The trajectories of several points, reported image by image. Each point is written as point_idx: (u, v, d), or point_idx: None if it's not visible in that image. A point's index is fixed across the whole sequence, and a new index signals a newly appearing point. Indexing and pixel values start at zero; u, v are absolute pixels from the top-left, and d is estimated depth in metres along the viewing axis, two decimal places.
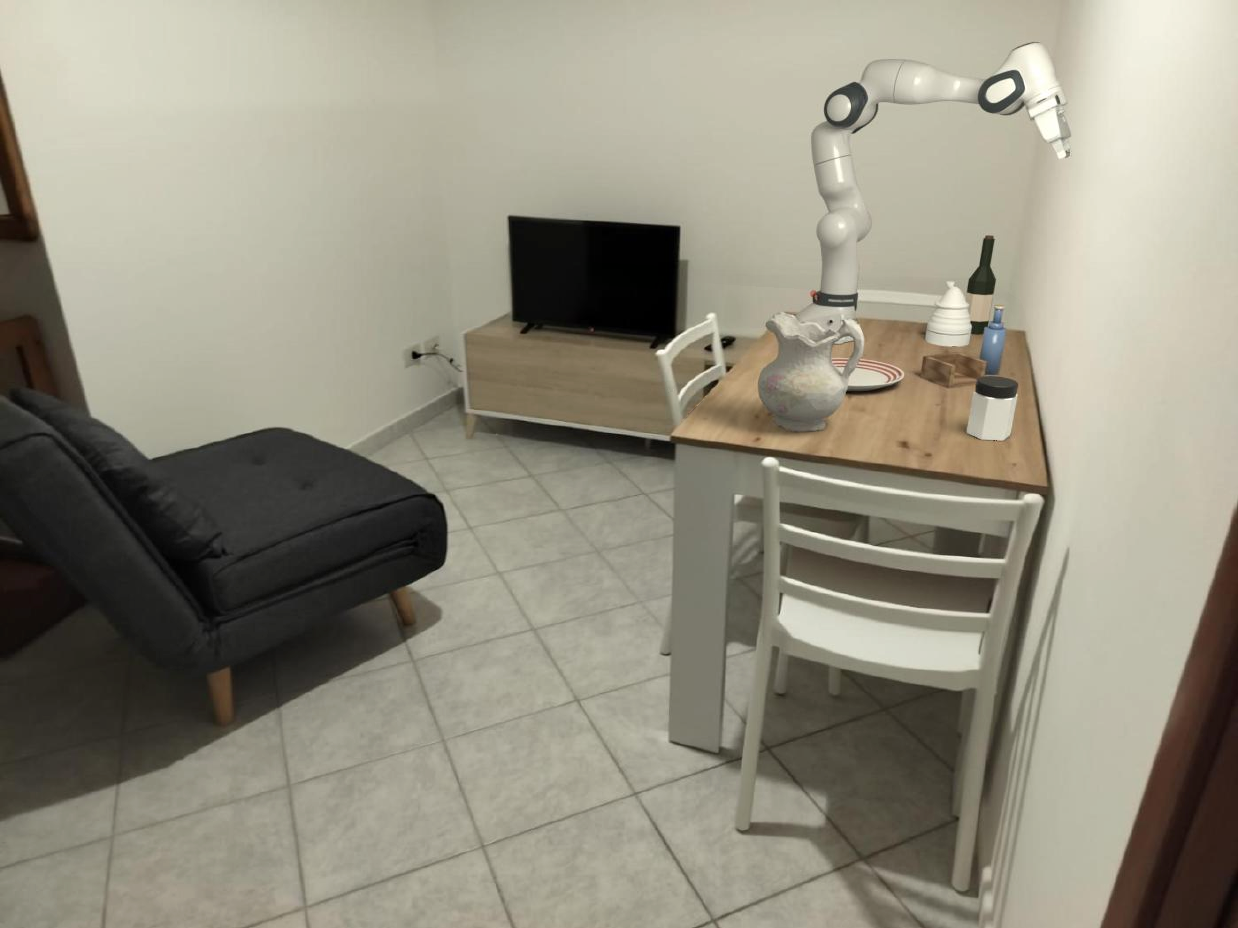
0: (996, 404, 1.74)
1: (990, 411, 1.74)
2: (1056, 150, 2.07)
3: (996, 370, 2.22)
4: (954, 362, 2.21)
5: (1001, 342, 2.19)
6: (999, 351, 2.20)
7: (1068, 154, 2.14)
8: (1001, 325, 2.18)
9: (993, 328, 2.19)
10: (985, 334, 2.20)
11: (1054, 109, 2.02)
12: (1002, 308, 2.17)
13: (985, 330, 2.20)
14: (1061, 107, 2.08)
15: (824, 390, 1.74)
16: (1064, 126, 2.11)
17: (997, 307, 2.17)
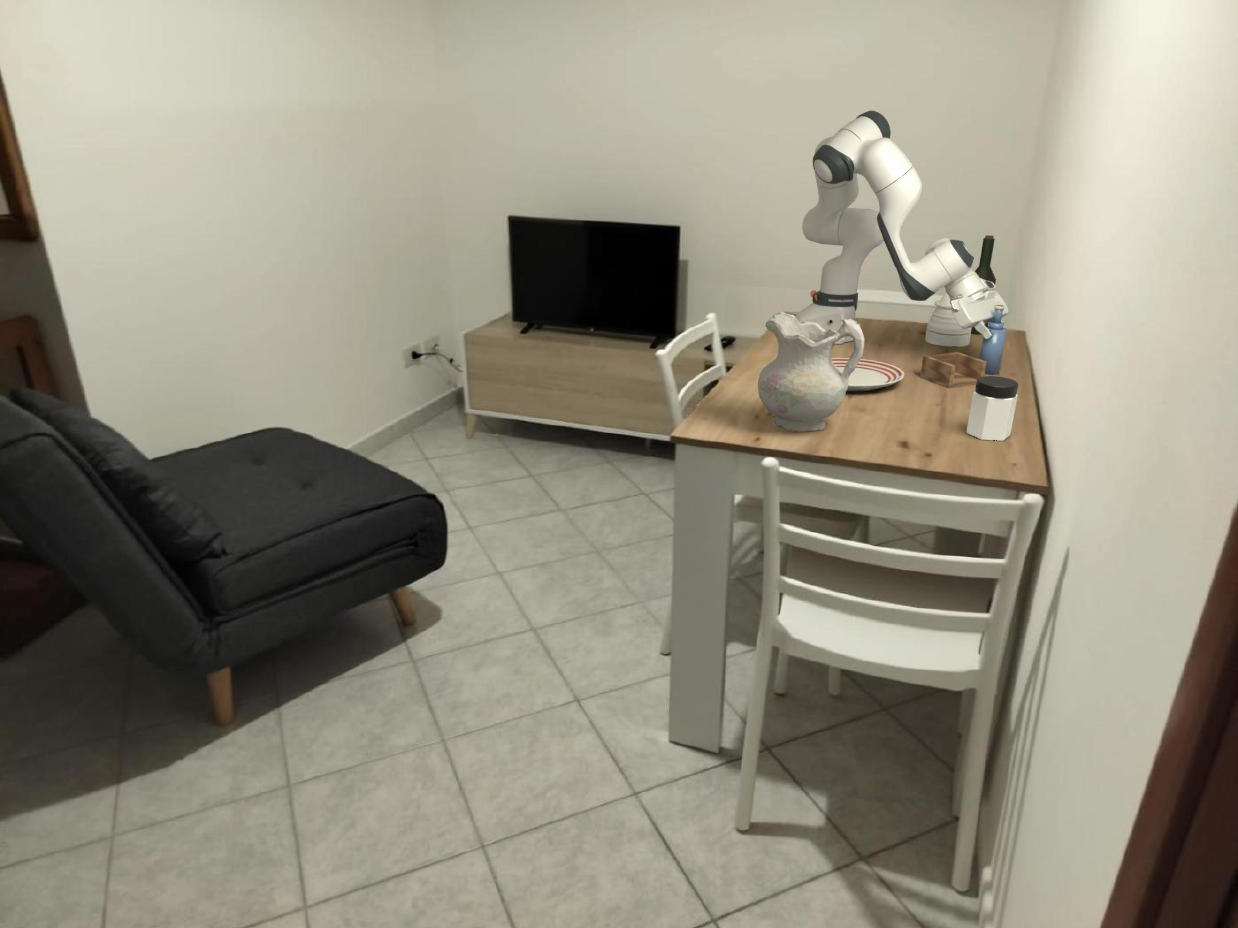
0: (996, 404, 1.74)
1: (990, 411, 1.74)
2: None
3: (996, 370, 2.22)
4: (954, 362, 2.21)
5: (1001, 342, 2.19)
6: (999, 351, 2.20)
7: None
8: (1001, 325, 2.18)
9: (993, 328, 2.19)
10: None
11: None
12: (1002, 308, 2.17)
13: None
14: None
15: (824, 391, 1.74)
16: None
17: (997, 307, 2.17)
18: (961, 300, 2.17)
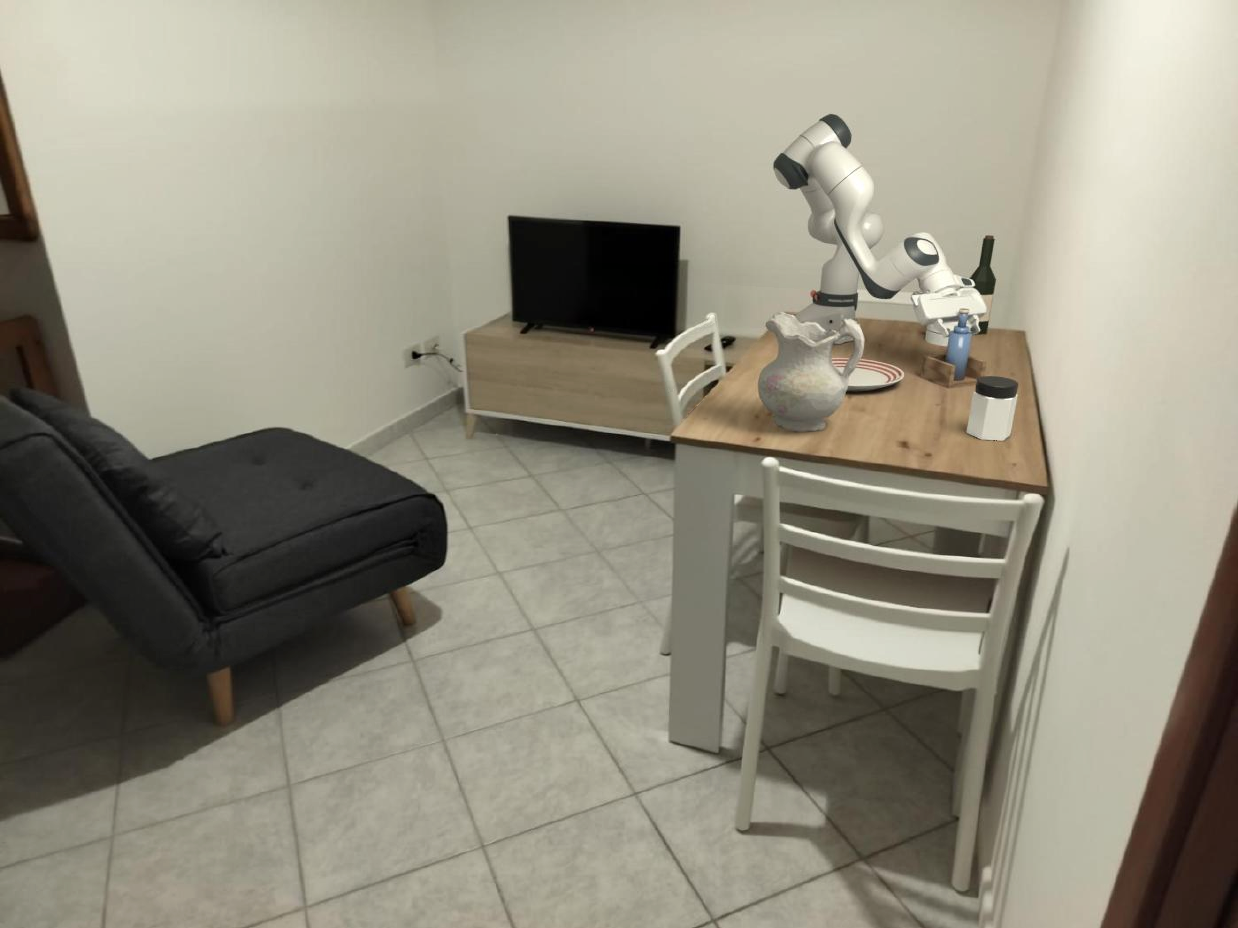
0: (996, 404, 1.74)
1: (990, 411, 1.74)
2: None
3: (959, 376, 2.14)
4: None
5: (963, 347, 2.11)
6: (961, 356, 2.12)
7: None
8: (964, 329, 2.10)
9: (956, 332, 2.11)
10: (949, 338, 2.13)
11: None
12: (966, 312, 2.09)
13: None
14: None
15: (824, 391, 1.74)
16: None
17: (960, 310, 2.10)
18: (922, 295, 2.11)
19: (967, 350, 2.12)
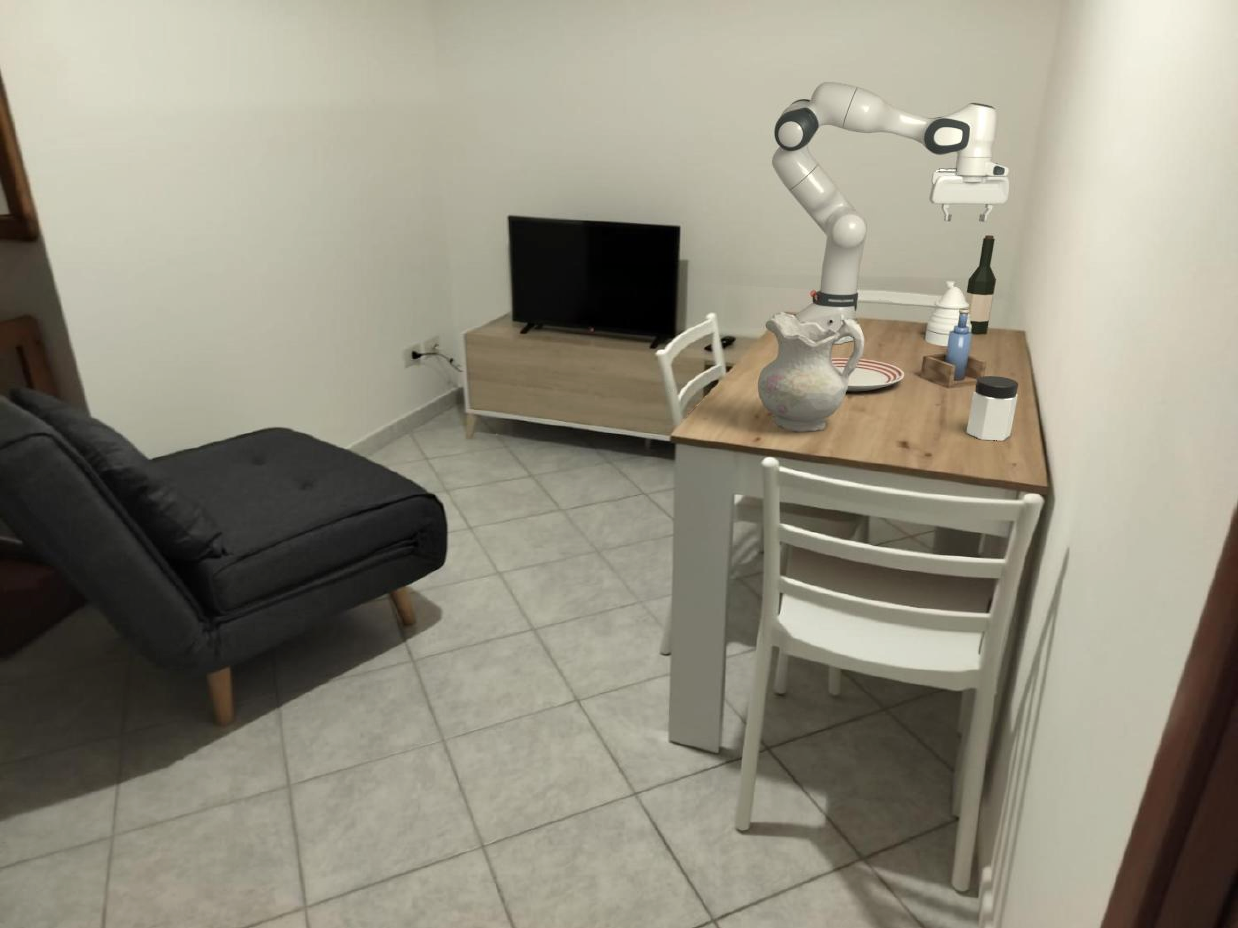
0: (996, 404, 1.74)
1: (990, 411, 1.74)
2: None
3: (958, 376, 2.14)
4: None
5: (963, 347, 2.11)
6: (961, 356, 2.12)
7: None
8: (964, 330, 2.10)
9: (956, 332, 2.11)
10: (949, 338, 2.13)
11: None
12: (966, 312, 2.09)
13: (949, 334, 2.13)
14: None
15: (824, 390, 1.74)
16: None
17: (960, 310, 2.09)
18: (941, 177, 2.25)
19: (967, 350, 2.12)
